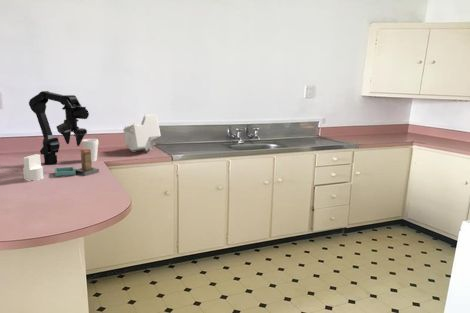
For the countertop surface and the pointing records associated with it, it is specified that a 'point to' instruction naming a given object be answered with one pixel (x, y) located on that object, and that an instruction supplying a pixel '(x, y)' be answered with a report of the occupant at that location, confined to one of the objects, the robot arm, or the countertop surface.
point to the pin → (86, 159)
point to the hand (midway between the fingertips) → (72, 145)
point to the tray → (65, 171)
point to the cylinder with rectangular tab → (33, 167)
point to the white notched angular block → (142, 133)
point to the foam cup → (91, 147)
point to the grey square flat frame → (82, 172)
